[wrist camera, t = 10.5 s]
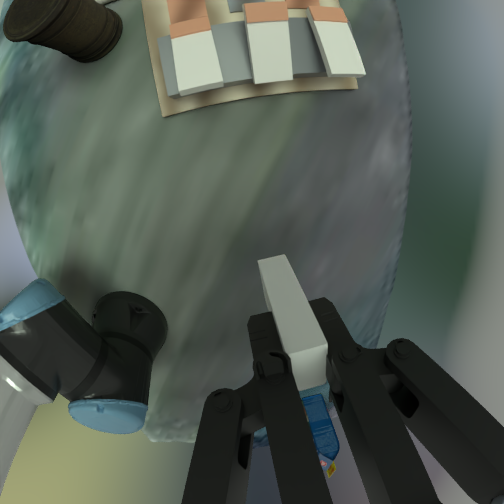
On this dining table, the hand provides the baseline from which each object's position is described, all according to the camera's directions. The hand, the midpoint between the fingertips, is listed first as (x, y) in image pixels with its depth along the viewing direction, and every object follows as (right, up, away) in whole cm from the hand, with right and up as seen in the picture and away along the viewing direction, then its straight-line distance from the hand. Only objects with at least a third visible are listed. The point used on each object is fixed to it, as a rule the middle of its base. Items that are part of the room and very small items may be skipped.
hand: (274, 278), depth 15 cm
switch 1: (-7, +22, +9) cm, 25 cm away
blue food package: (+16, -45, +57) cm, 74 cm away
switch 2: (+8, +26, +9) cm, 29 cm away
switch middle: (0, +25, +8) cm, 27 cm away
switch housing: (0, +27, +14) cm, 31 cm away
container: (-24, +33, +9) cm, 42 cm away
